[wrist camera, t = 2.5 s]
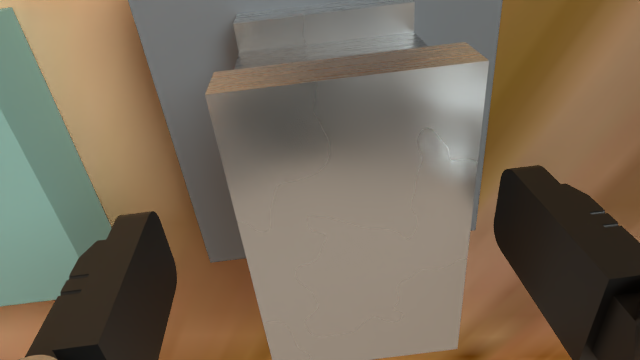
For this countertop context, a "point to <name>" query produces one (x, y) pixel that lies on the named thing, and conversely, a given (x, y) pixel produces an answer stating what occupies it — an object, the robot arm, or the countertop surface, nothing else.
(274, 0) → the stand
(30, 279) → the stand
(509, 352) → the countertop surface
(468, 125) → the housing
